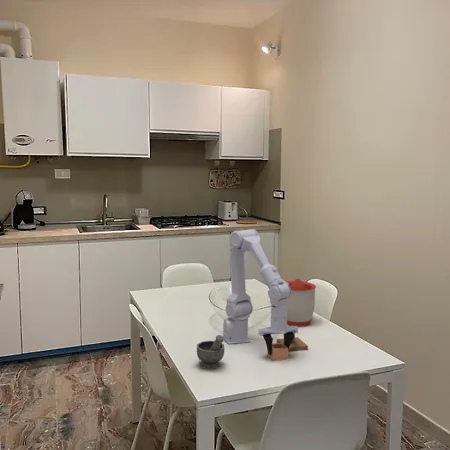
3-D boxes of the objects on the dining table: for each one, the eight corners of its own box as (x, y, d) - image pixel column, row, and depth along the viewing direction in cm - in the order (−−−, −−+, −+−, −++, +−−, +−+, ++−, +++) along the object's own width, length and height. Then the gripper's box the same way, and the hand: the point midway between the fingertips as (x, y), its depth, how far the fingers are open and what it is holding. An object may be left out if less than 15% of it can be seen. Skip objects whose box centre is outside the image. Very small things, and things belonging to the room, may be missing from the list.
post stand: (285, 351, 170) (285, 337, 169) (276, 342, 178) (276, 329, 178) (307, 349, 172) (308, 335, 172) (297, 340, 181) (298, 327, 180)
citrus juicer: (273, 316, 210) (274, 273, 208) (311, 317, 210) (313, 274, 207) (276, 328, 195) (277, 282, 192) (317, 329, 194) (319, 283, 192)
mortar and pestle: (190, 363, 158) (191, 330, 157) (212, 357, 164) (212, 324, 163) (210, 375, 150) (210, 340, 148) (232, 368, 155) (233, 334, 154)
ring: (273, 360, 162) (273, 349, 161) (267, 354, 167) (267, 343, 167) (287, 359, 163) (288, 348, 163) (281, 353, 169) (282, 342, 168)
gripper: (263, 321, 158) (262, 359, 159) (302, 318, 162) (300, 355, 163) (256, 315, 164) (255, 351, 166) (294, 312, 168) (292, 347, 170)
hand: (277, 353), depth 165 cm, fingers closed on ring, 6 cm apart
